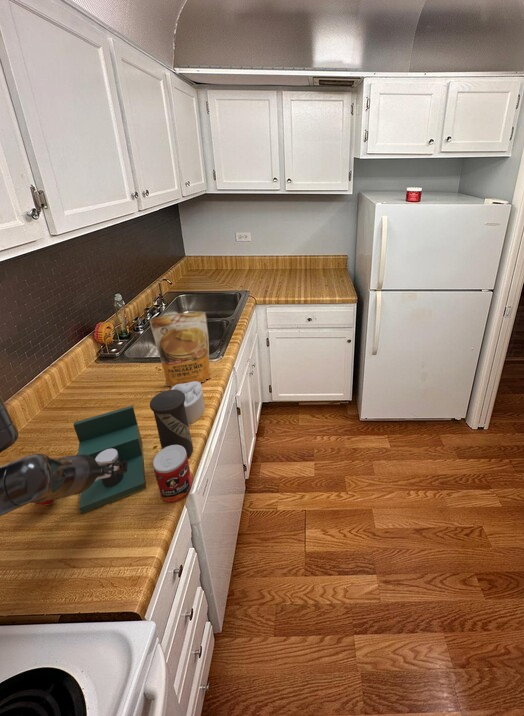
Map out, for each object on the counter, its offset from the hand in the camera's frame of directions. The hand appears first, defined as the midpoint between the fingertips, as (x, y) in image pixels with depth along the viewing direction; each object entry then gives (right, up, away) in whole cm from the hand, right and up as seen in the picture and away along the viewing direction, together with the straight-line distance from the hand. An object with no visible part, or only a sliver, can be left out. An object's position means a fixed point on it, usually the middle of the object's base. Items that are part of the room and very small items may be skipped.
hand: (103, 469), depth 81 cm
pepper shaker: (0, -5, +4) cm, 7 cm away
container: (+12, -3, +15) cm, 19 cm away
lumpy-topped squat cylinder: (+9, +3, +31) cm, 32 cm away
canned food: (+16, -7, +4) cm, 18 cm away
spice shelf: (-2, -6, +8) cm, 10 cm away
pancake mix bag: (+3, +9, +46) cm, 47 cm away
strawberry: (-13, -9, +1) cm, 16 cm away
